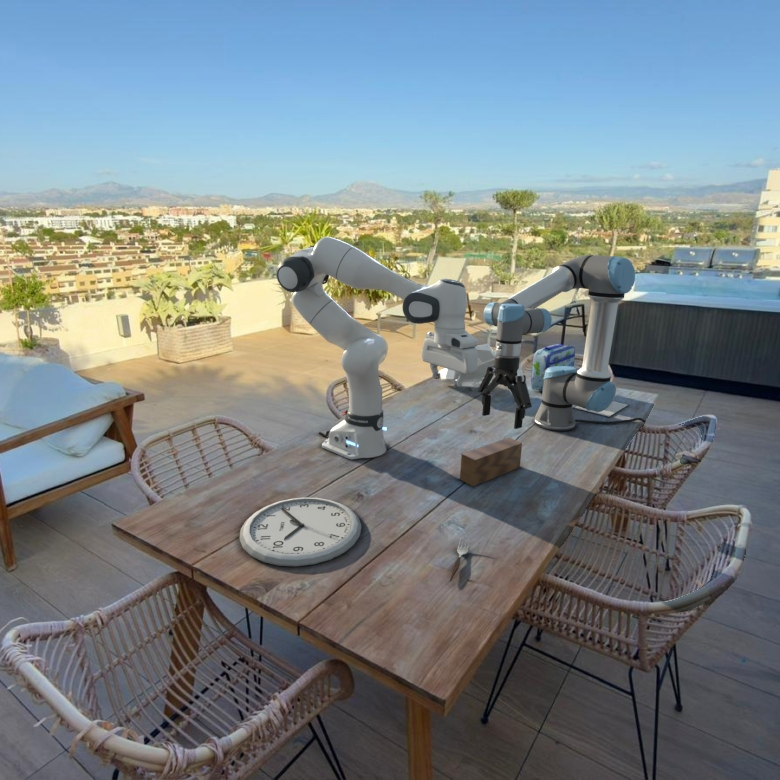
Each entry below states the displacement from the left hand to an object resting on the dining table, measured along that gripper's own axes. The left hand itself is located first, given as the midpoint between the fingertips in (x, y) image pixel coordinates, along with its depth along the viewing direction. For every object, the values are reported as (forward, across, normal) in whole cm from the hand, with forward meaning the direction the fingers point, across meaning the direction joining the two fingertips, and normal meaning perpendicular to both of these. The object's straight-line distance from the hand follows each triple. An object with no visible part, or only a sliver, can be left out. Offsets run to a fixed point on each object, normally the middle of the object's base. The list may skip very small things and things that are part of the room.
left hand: (446, 382), depth 156 cm
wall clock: (+29, +4, -52) cm, 60 cm away
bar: (+29, +10, +11) cm, 33 cm away
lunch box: (+29, -33, +104) cm, 113 cm away
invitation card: (+29, -4, +99) cm, 103 cm away
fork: (+29, +37, -30) cm, 56 cm away
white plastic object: (+29, -49, +70) cm, 91 cm away
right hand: (+14, +8, +17) cm, 24 cm away
